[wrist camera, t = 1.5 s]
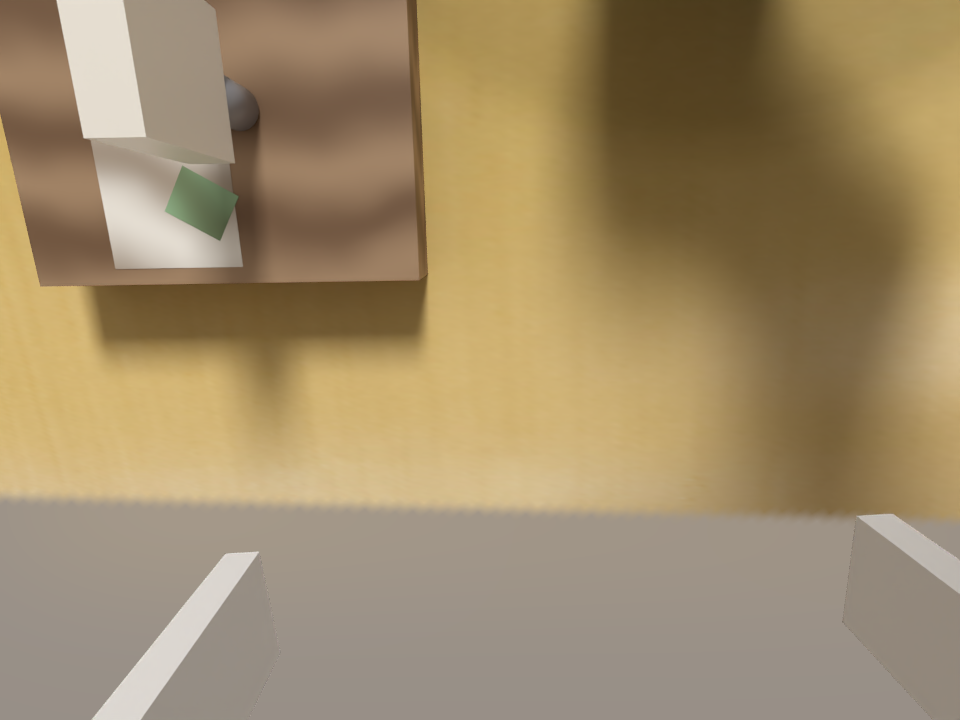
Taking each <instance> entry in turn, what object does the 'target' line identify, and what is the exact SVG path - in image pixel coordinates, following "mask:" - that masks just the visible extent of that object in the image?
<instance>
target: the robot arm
mask: <svg viewBox="0 0 960 720" xmlns="http://www.w3.org/2000/svg"><path fill="white" fill-rule="evenodd" d="M843 623H844V624H845V625H846V626H847V627H848V628H849V630H850V631H851V632H852V633H853V634H854V635H855V636H856V637H857V638H858V639H859V640H860V641H861V642H862V643H863V645H864V646H865V647H866V648H867V649H868V650H869V651H870V652H871V653H872V654H873V655H874V657H876V659H877V660H878V661H879V662H880V663H881V664H882V665H883V666H884V667H885V668H886V669H887V671H888V672H889V673H890V674H891V675H892V676H893V677H894V678H895V679H896V680H897V682H898V683H899V684H900V685H901V686H902V687H903V688H904V689H905V690H906V691H907V692H908V693H909V695H910V696H911V697H912V698H913V699H914V700H915V701H916V702H917V703H918V704H919V705H920V706H921V708H923V710H924V711H925V712H926V713H927V714H928V715H929V716H930V717H931V718H932V719H933V720H960V560H959V559H958V558H956V557H955V556H953V555H952V554H951V553H949V552H947V551H946V550H944V549H943V548H942V547H940V546H939V545H937V544H936V543H934V542H933V541H932V540H930V539H929V538H927V537H926V536H924V535H923V534H921V533H920V532H918V531H917V530H916V529H914V528H913V527H911V526H910V525H908V524H907V523H905V522H904V521H902V520H901V519H900V518H898V517H897V516H895V515H894V514H878V515H861V516H856V523H855V531H854V538H853V546H852V554H851V561H850V568H849V576H848V584H847V591H846V599H845V607H844V615H843ZM279 655H280V647H279V642H278V638H277V633H276V628H275V624H274V619H273V614H272V610H271V605H270V600H269V595H268V591H267V586H266V582H265V577H264V572H263V567H262V562H261V558H260V553H259V552H246V553H229V554H225V555H224V556H223V557H222V559H221V560H220V561H219V562H218V564H217V565H216V566H215V568H214V569H213V570H212V571H211V572H210V574H209V575H208V576H207V577H206V579H205V580H204V581H203V582H202V583H201V585H200V586H199V587H198V589H197V590H196V591H195V592H194V593H193V595H192V596H191V597H190V599H189V600H188V601H187V602H186V603H185V605H184V606H183V607H182V608H181V610H180V611H179V612H178V613H177V614H176V616H175V617H174V618H173V619H172V621H171V622H170V623H169V624H168V626H167V627H166V628H165V629H164V631H163V632H162V633H161V634H160V636H159V637H158V638H157V639H156V641H155V642H154V643H153V644H152V645H151V647H150V648H149V649H148V651H147V652H146V653H145V654H144V656H143V657H142V658H141V659H140V660H139V662H138V663H137V664H136V665H135V667H134V668H133V669H132V670H131V672H130V673H129V674H128V675H127V677H126V678H125V679H124V680H123V681H122V683H121V684H120V685H119V686H118V688H117V689H116V690H115V691H114V693H113V694H112V695H111V696H110V698H109V699H108V700H107V701H106V703H105V704H104V705H103V706H102V708H101V709H100V710H99V711H98V712H97V714H96V715H95V716H94V717H93V719H92V720H248V719H249V717H250V715H251V713H252V711H253V709H254V707H255V705H256V703H257V700H258V698H259V696H260V694H261V692H262V690H263V688H264V686H265V684H266V682H267V680H268V678H269V676H270V674H271V672H272V669H273V667H274V665H275V663H276V661H277V659H278V657H279Z"/></svg>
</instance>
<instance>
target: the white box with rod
mask: <svg viewBox="0 0 960 720" xmlns="http://www.w3.org/2000/svg"><path fill="white" fill-rule="evenodd" d="M56 1H57V6H58V11H59V16H60V21H61V26H62V31H63V36H64V41H65V46H66V51H67V56H68V62H69V67H70V72H71V77H72V82H73V87H74V92H75V97H76V102H77V107H78V112H79V117H80V122H81V128H82V133H83V138H85V139H89V140H93V141H97V142H101V143H105V144H109V145H113V146H117V147H121V148H125V149H129V150H133V151H138V152H142V153H146V154H150V155H154V156H158V157H162V158H166V159H170V160H174V161H178V162H182V163H186V164H230V163H235V159H234V151H233V143H232V136H231V129H233V130H236V131H245V130H248V129H250V128H251V127H252V126H253V125H254V124H255V123H256V121H257V119H258V115H259V107H258V103H257V100H256V98H255V97H254V95H253V94H252V93H251V92H250V91H249V90H247V89H246V88H244V87H243V86H241V85H240V84H238V83H236V82H235V81H233V80H232V79H230V78H228V77H227V76H225V75H224V74H223V66H222V58H221V50H220V43H219V35H218V27H217V19H216V12H215V9H214V8H213V7H212V6H211V5H209V4H208V3H207V2H206V1H205V0H56Z"/></svg>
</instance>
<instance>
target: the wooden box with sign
mask: <svg viewBox="0 0 960 720" xmlns="http://www.w3.org/2000/svg"><path fill="white" fill-rule="evenodd" d="M205 1H206V2H207V3H208V4H209V5H211V6H212V7H213V8H214V9H215V12H216V19H217V27H218V35H219V43H220V50H221V58H222V66H223V74H224V75H225V76H227V77H228V78H230V79H232V80H233V81H235V82H236V83H238V84H240V85H241V86H243V87H244V88H246V89H247V90H249V91H250V92H251V93H252V94H253V95H254V97H255V98H256V100H257V103H258V107H259V115H258V119H257V121H256V123H255V124H254V125H253V126H252V127H251V128H250V129H248V130H245V131H236V130H233V129H231V136H232V143H233V151H234V159H235V163H230V164H186V163H182V162H178V161H174V160H170V159H166V158H162V157H158V156H154V155H150V154H146V153H142V152H138V151H133V150H129V149H125V148H121V147H117V146H113V145H109V144H105V143H101V142H97V141H93V140H89V139H85V138H83V133H82V128H81V122H80V117H79V112H78V107H77V102H76V97H75V92H74V87H73V82H72V77H71V72H70V67H69V62H68V56H67V51H66V46H65V41H64V36H63V31H62V26H61V21H60V16H59V11H58V6H57V1H56V0H0V114H1V119H2V123H3V127H4V132H5V136H6V140H7V145H8V149H9V153H10V158H11V162H12V166H13V170H14V175H15V179H16V183H17V188H18V192H19V196H20V201H21V205H22V209H23V213H24V218H25V222H26V226H27V231H28V235H29V239H30V244H31V248H32V252H33V256H34V261H35V265H36V269H37V274H38V278H39V282H40V286H95V285H156V284H218V283H279V282H340V281H401V280H420V279H422V278H423V277H425V276H426V275H427V274H428V268H427V244H426V220H425V196H424V172H423V148H422V124H421V100H420V76H419V52H418V28H417V4H416V0H205Z"/></svg>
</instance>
